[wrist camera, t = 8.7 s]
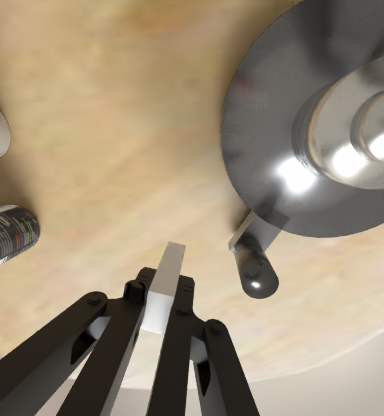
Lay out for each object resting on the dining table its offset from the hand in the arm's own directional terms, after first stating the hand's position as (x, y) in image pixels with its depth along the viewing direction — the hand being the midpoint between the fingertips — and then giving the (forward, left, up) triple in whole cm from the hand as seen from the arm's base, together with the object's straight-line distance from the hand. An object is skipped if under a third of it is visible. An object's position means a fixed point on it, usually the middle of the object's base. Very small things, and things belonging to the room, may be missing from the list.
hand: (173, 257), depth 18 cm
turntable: (-14, +7, -6) cm, 16 cm away
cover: (-16, +7, -4) cm, 18 cm away
